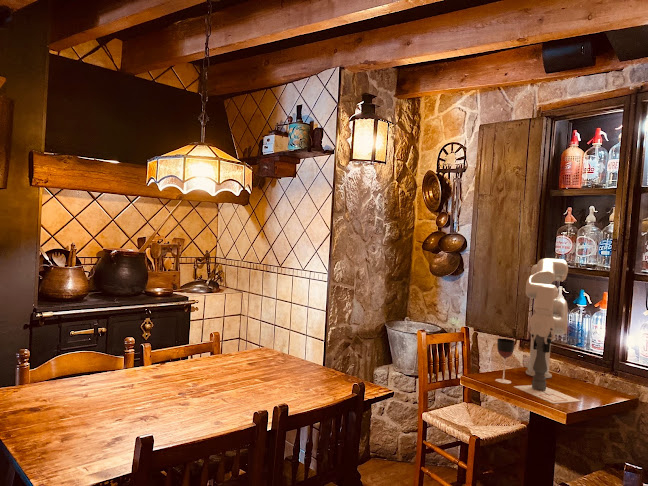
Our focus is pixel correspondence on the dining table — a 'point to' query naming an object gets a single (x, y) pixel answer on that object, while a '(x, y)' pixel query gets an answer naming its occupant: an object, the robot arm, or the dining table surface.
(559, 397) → the paper sheet
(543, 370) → the candle holder
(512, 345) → the wineglass
